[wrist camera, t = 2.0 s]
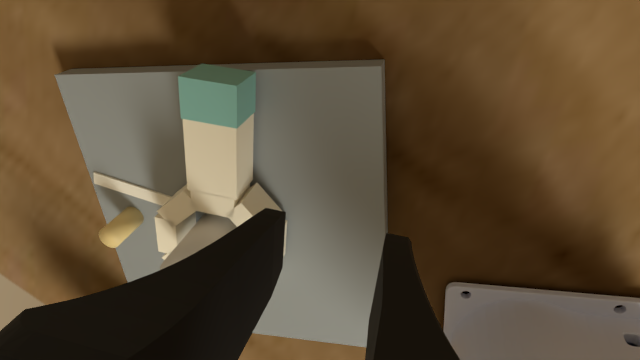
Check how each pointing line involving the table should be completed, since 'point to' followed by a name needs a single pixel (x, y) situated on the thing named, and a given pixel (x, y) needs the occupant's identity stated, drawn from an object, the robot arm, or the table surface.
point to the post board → (268, 171)
